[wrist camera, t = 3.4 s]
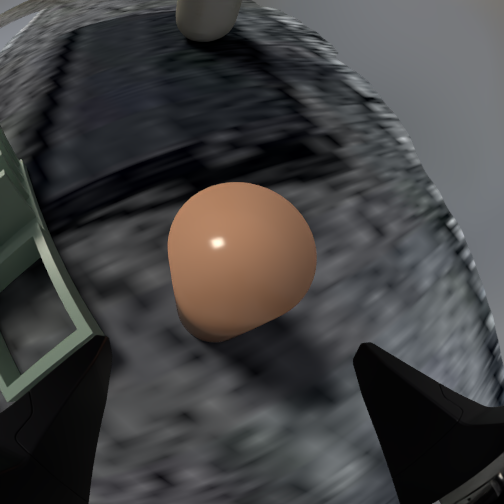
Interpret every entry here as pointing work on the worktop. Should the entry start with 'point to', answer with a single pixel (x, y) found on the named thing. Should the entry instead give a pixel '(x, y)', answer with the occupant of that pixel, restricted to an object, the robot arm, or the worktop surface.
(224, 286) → the orange rounded blob
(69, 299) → the dish rack
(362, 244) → the worktop surface
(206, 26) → the glass bottle
